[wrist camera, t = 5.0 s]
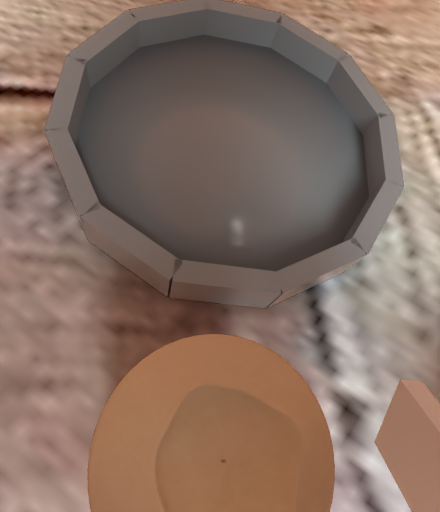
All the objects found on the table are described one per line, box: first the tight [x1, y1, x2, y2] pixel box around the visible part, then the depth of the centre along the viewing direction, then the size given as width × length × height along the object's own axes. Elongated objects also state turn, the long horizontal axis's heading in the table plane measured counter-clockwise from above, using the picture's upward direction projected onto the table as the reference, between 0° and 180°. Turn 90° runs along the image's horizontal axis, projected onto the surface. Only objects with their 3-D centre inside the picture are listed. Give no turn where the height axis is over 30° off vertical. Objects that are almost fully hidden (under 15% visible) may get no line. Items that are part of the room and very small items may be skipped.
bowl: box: [44, 0, 404, 308], centre depth 21 cm, size 18×18×2 cm
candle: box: [88, 334, 335, 512], centre depth 12 cm, size 6×6×10 cm
